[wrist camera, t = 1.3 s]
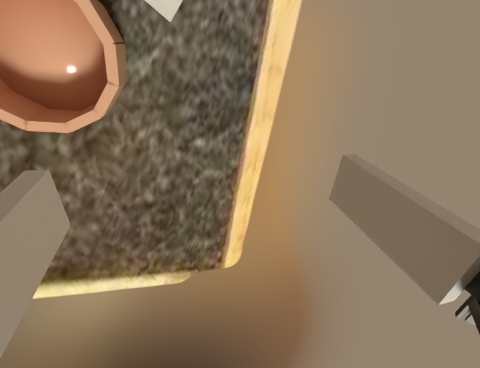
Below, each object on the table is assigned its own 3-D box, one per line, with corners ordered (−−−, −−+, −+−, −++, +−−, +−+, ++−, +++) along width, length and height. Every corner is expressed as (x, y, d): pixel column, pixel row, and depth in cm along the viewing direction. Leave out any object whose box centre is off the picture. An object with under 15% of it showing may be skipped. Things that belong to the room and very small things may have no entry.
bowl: (-51, 64, 24) (-108, 70, 19) (-7, -81, 20) (-64, -122, 15) (95, 137, 31) (81, 155, 26) (148, 39, 27) (144, 39, 22)
